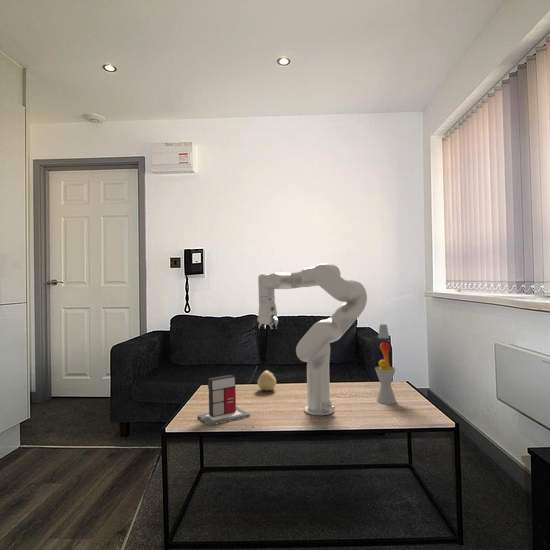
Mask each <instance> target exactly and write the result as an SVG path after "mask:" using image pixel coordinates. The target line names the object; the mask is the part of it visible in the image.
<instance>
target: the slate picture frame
mask: <svg viewBox="0 0 550 550" xmlns="http://www.w3.org/2000/svg"><path fill="white" fill-rule="evenodd" d="M248 416H250V417H251V413H249V412H247V411H245V410H243V409H241V408H240V407H237V406H236V412H233V413H228V414H224V415H219V416H215V417H212V416H210V415H209V412H207V413H203V414H197V418H198V417H199V418H200V419H202V420H203V421H204V422H206V423H207V424H208V425H212V424H216V423H220V424H222V423H221V422H225V421H229V420H233V421H235V420H234V419H237V420H239V419H238V418H242V419H244V418H243V417H246V418H249V417H248ZM199 418H198V419H199ZM200 419H199V420H200ZM202 420H201V421H202ZM203 421H202V422H203ZM204 422H203V423H204ZM229 422H230V421H229ZM206 423H205V424H206ZM225 423H226V422H225ZM207 424H206V425H207ZM208 425H207V426H208ZM216 425H217V424H216ZM212 426H213V425H212Z"/></svg>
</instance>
